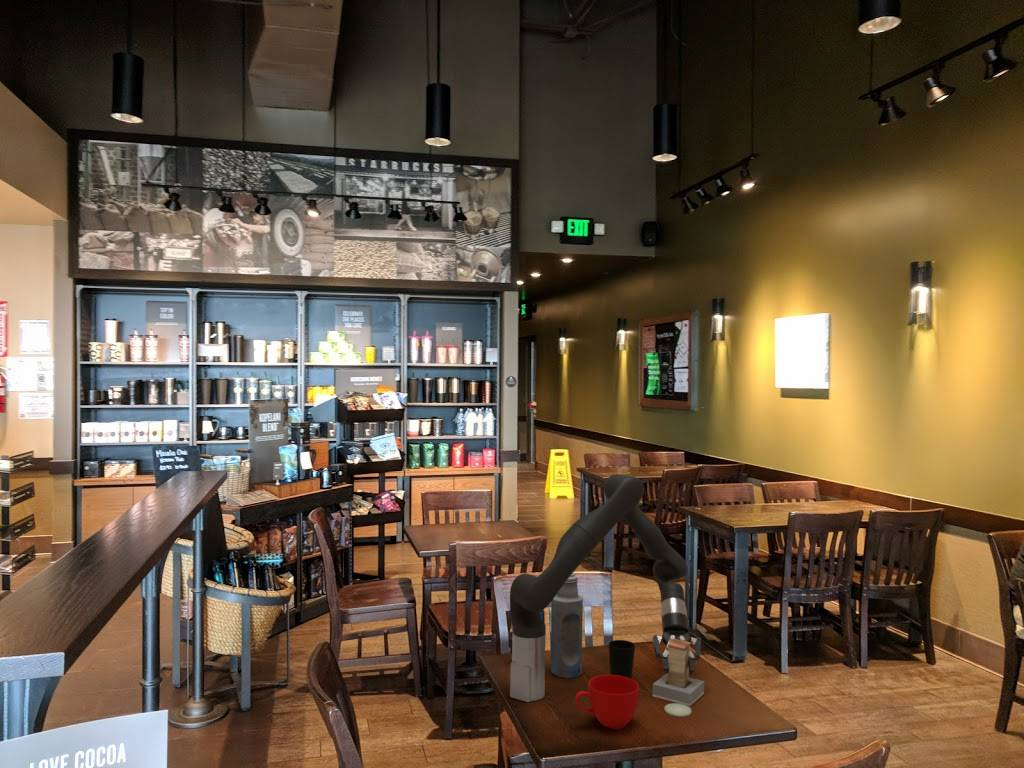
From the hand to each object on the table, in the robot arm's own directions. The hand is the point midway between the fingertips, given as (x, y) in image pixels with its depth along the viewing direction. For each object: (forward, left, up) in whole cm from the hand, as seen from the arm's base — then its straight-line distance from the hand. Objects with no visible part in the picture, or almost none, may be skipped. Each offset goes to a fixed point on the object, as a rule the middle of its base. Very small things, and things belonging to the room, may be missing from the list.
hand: (679, 672), depth 209 cm
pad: (-9, -3, -7) cm, 12 cm away
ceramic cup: (-28, +9, -7) cm, 30 cm away
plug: (+2, +1, -6) cm, 7 cm away
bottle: (-4, +35, -7) cm, 36 cm away
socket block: (+1, +1, -7) cm, 7 cm away
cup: (-3, +17, -7) cm, 18 cm away
